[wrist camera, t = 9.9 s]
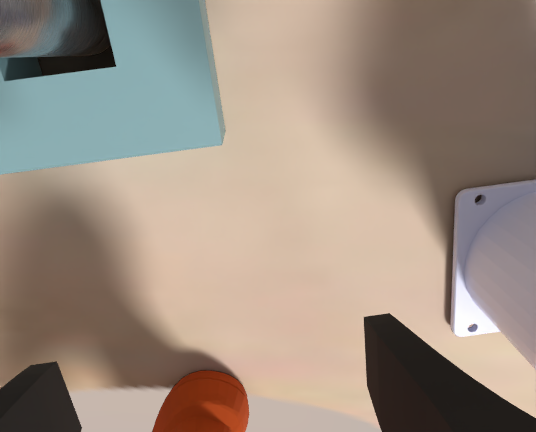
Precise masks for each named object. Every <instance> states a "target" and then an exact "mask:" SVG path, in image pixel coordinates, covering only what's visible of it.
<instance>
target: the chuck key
mask: <svg viewBox="0 0 536 432" xmlns="http://www.w3.org/2000/svg"><path fill="white" fill-rule="evenodd" d="M110 45H111V42H110V38H109V34H108V30H107V25H106V21H105V17H104V13H103V9H102V4H101V0H0V58H11V57H54V56H91V55H96V54H99V53H101V52H103V51H104V50H106V49H107V48H108V47H109V46H110Z"/></svg>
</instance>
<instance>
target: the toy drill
mask: <svg viewBox="0 0 536 432" xmlns="http://www.w3.org/2000/svg"><path fill="white" fill-rule="evenodd" d="M248 418H249V405H248V400H247V394H246V392H245V389H244V387H243V385H242V384H241V383H240V382H239V381H238V380H237V379H235V378H233V377H232V376H230V375H227V374H224V373H222V372H217V371H198V372H194V373H191V374H189V375H187V376H185V377H183V378H182V379H181V380H180V381H179V382H178V383H177V384H176V385H175V386H174V387H173V388H172V390H171V391H170V393H169V394H168V396H167V397H166V399H165V401H164V403H163V405H162V407H161V409H160V411H159V414H158V416H157V419H156V422H155V425H154V428H153V431H152V432H245V430H246V427H247V424H248Z"/></svg>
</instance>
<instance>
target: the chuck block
mask: <svg viewBox="0 0 536 432" xmlns="http://www.w3.org/2000/svg"><path fill="white" fill-rule="evenodd" d="M101 4H102V9H103V13H104V17H105V21H106V25H107V30H108V34H109V38H110V42H111V47H112V51H113V55H114V59H115V63H116V67H110V68H102V69H95V70H87V71H79V72H72V73H64V74H57V75H49V76H43V75H42V71H41V68H40V65H39V61H38V58H37V57H11V58H0V174H8V173H15V172H23V171H30V170H38V169H45V168H53V167H60V166H68V165H76V164H83V163H91V162H98V161H106V160H113V159H121V158H128V157H136V156H143V155H151V154H158V153H166V152H173V151H181V150H188V149H196V148H204V147H211V146H219V145H222V144H223V139H224V135H225V125H224V119H223V112H222V106H221V100H220V93H219V87H218V81H217V74H216V68H215V62H214V55H213V49H212V43H211V36H210V30H209V24H208V17H207V11H206V5H205V0H101Z"/></svg>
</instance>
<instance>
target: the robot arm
mask: <svg viewBox="0 0 536 432" xmlns="http://www.w3.org/2000/svg"><path fill="white" fill-rule="evenodd" d="M480 194H481V195H482V197H481V200H480V201H479V202H476V203H475V198H476V197H477V196H478V195H480ZM470 324H473V326H472V327H469V328H468V326H469V325H470ZM450 327H451V330H452V331H453V333H454V334H455V335H456V336H459V337H464V336H471V335H478V334H486V333H493V332H502V334H503V335H504V336H505V337H506V338H507V339H508V340H509V341H510V342H511V343H512V344H513V346H514V347H515V348H516V349H517V350H518V351H519V352H520V353H521V354H522V355H523V356H524V357H525V359H526V360H527V361H528V362H529V363H530V364H531V365H532V366H533V367H534V368H535V369H536V179H535V180H528V181H520V182H513V183H505V184H498V185H490V186H483V187H475V188H468V189H464V190H462V191H460V192H459V193H458V194H457V196H456V199H455V218H454V245H453V272H452V299H451V326H450ZM364 331H365V352H366V373H367V387H368V390H369V393H370V397H371V400H372V403H373V406H374V410H375V413H376V416H377V419H378V422H379V425H380V428H381V430H382V432H536V418H534V417H533V416H531V415H529V414H528V413H526V412H524V411H522V410H521V409H519V408H517V407H516V406H514V405H513V404H511V403H509V402H508V401H506V400H505V399H503V398H501V397H500V396H498V395H497V394H496V393H494V392H493V391H491V390H490V389H488V388H487V387H485V386H484V385H482V384H481V383H479V382H478V381H476V380H475V379H473V378H472V377H470V376H469V375H468V374H466V373H465V372H463V371H462V370H461V369H459V368H458V367H457V366H455V365H454V364H453V363H451V362H450V361H449V360H447V359H446V358H445V357H443V356H442V355H441V354H439V353H438V352H437V351H436V350H434V349H433V348H432V347H431V346H429V345H428V344H427V343H426V342H424V341H423V340H422V339H421V338H419V337H418V336H417V335H416V334H414V333H413V332H412V331H411V330H410V329H408V328H407V327H406V326H405V325H403V324H402V323H401V322H400V321H398V320H397V319H396V318H395V317H393V316H392V315H391V314H390V313H388V314H381V315H375V316H368V317H364ZM81 429H82V427H81V424H80V422H79V419H78V417H77V414H76V411H75V408H74V406H73V403H72V400H71V398H70V395H69V392H68V390H67V387H66V384H65V382H64V379H63V376H62V374H61V371H60V368H59V366H58V363H57V362H50V363H43V364H36V365H30V366H29V367H28V368H26V369H25V370H24V371H22V372H21V373H20V374H18V375H17V376H16V377H15V378H13V379H12V380H11V381H10V382H8V383H7V384H6V385H5V386H4V387H2V388H1V389H0V432H81Z"/></svg>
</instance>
